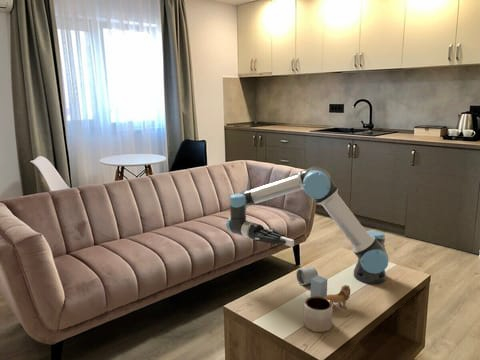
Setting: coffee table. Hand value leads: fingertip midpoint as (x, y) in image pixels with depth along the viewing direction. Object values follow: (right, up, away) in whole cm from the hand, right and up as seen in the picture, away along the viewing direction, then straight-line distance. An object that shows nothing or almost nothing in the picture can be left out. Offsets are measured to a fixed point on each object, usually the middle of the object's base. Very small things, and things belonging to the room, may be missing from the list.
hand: (292, 243), depth 166 cm
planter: (+8, -31, -11) cm, 34 cm away
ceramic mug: (+9, -23, +23) cm, 34 cm away
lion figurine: (+18, -28, +1) cm, 33 cm away
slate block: (+12, -26, +7) cm, 30 cm away
